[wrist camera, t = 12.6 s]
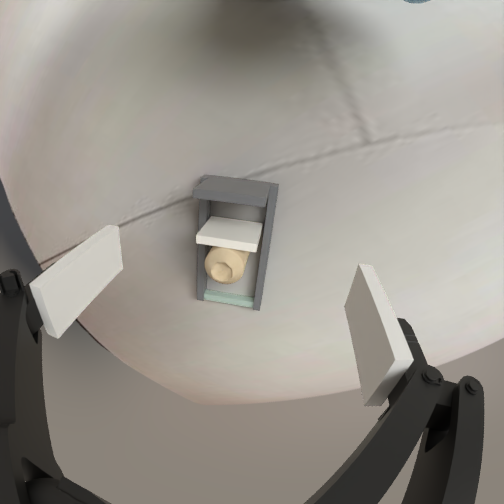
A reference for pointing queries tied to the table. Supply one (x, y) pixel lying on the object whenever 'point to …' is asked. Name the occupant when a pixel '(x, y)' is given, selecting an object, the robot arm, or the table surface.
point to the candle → (226, 264)
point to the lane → (239, 194)
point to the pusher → (230, 233)
